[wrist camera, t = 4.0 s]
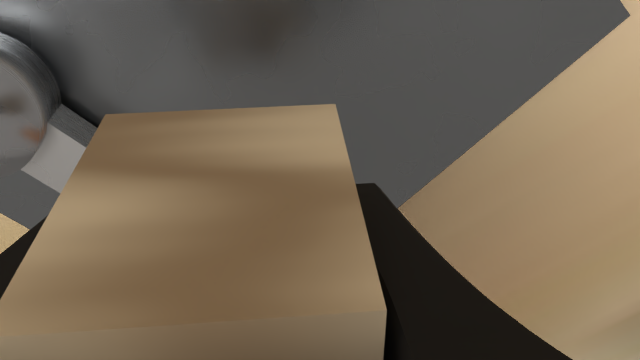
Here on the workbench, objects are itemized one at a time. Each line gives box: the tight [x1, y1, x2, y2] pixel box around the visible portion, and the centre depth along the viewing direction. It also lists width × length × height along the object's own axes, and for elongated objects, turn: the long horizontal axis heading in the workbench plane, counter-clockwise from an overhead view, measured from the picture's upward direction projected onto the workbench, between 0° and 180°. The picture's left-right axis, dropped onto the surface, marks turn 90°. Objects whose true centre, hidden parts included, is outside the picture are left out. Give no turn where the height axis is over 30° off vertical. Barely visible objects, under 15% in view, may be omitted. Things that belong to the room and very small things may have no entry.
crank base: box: [0, 0, 630, 229], centre depth 16 cm, size 18×16×1 cm
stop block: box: [0, 104, 387, 360], centre depth 9 cm, size 4×4×5 cm
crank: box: [0, 33, 97, 193], centre depth 15 cm, size 12×4×5 cm, turn 46°
